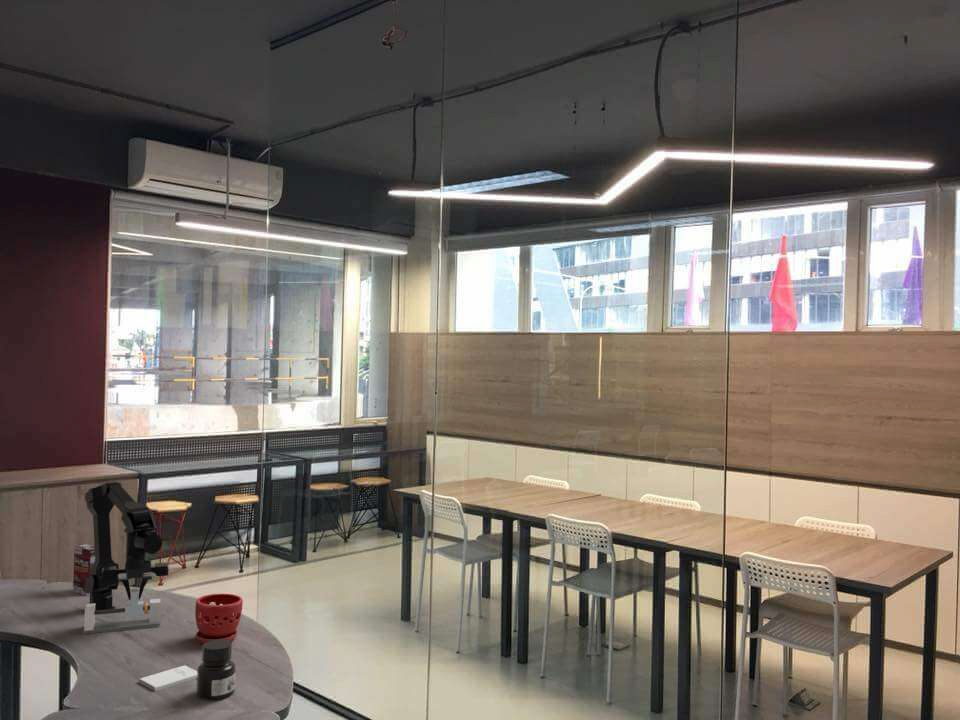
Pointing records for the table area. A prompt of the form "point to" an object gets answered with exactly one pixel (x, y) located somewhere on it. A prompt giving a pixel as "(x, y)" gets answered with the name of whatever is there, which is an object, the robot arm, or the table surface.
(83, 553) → the supplement box
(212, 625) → the plant pot
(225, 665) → the ink bottle
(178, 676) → the external hard drive
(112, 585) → the robot arm
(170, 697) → the table surface
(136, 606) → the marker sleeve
